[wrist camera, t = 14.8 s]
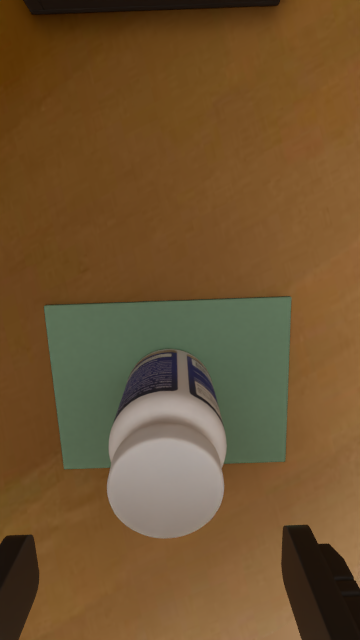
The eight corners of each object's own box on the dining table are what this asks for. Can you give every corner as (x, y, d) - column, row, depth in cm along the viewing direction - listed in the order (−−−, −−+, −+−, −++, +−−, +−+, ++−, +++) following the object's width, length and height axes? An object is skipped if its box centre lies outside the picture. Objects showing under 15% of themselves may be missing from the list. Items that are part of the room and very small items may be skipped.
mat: (65, 465, 25) (63, 469, 24) (45, 304, 22) (43, 305, 22) (283, 458, 25) (285, 461, 24) (289, 296, 22) (291, 297, 22)
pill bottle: (121, 416, 23) (81, 539, 14) (136, 339, 22) (103, 412, 12) (202, 431, 24) (219, 561, 14) (220, 355, 22) (254, 440, 13)
